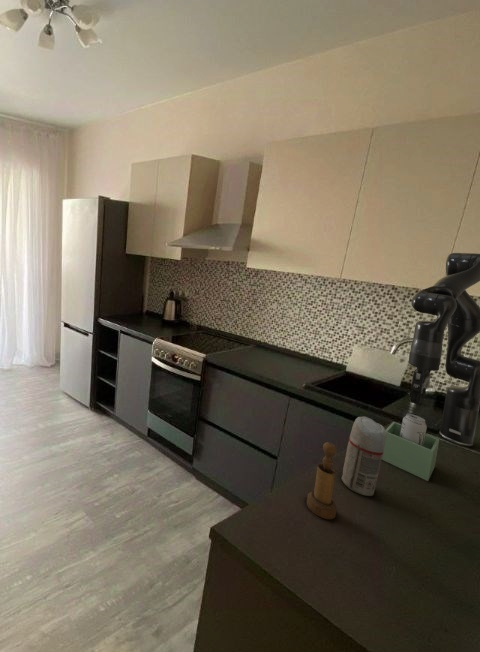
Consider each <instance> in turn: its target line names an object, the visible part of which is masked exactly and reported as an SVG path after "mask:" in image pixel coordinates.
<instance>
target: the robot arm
mask: <svg viewBox="0 0 480 652" xmlns="http://www.w3.org/2000/svg"><path fill="white" fill-rule="evenodd" d="M479 282H480V253H476V252H475V253H474V252H473V253H472V252H451V253H449V254H448V255H447V257H446V261H445V276H443V277H442V278H440V279H438V280H437V281H436V282H435V283H434V284H433V285H432V286H429V287H426V288H423V289H421V290H419V291H418V292H416V293H415V294H414V295H413V297H412V299H411V307H412V309H413V310H414V311H416V312H417V313H421V314H426V315H431V316H436V318H435V319H434V320H418V321H416V323H415V326H414V331H413V338H412V341H411V344H410V349H409V356H408V364H409V365H410V366H412V367H415V368H416V369H414V370H413V371H412V379H411V385H410V388H409V389H410V391H411V394H410V403H412V404H414V405H417V406H418V405H420V404H421V399H423V400H424V399H425V398H426V392H427V388H428V387H429V385H430V382H431V381H430V379H431V377H432V373H431V372H438V371H439V370H440V365H441V360H442V354H443V343H444V342H443V341H444V335H445V331H446V328H447V346H446V355H445V362H444V363H445V367H444V368H445V372H446V375H448V376H449V377H451V378H454V379H457V380H461V381H464V382H467V383H468V384H467V386H459V385H458V386H457V385H450V386H448V387H447V388H446V394H445V399H444V404H443V405H444V406H443V411H442V417H441V423H440V428H439V432H438V435H439V436H440V437H441V438H443V439H444V440H446V441H448V442H451V443H453V444H455V445H458V446H463V447H468V448H472V447H473V446H474V439H475V433H476V429H477V423H478V417H479V413H480V412H479V411H480V360H479V359H475V358H472V357H469V356H468V357H467V356H464V355H462V351H463V348H464V347H465V346H466V344H467V343H468V342H470V341H471V340H473V338H475V337H476V336H478V334H479V333H480V306H479V304H478V303H477V301H475V299H473V298H472V296H471V295H470V294H469V293H468V291H467V289H469V288H470V287H472V286H474V285H476V284H478V283H479Z"/></svg>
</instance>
